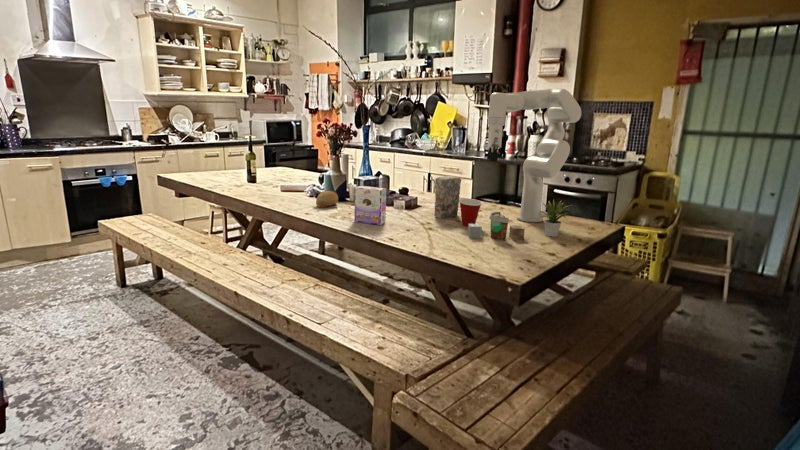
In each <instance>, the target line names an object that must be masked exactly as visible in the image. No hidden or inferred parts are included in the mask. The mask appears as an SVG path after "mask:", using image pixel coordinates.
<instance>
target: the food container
mask: <svg viewBox="0 0 800 450" xmlns="http://www.w3.org/2000/svg"><path fill="white" fill-rule="evenodd" d="M489 220H490V238H491V239H493V240H497V241H506V239H507V234H508V233H507V232H508V226H509V223H510V222H509V221H510V219H509V217H505V215H502V214H501V211H493V212H491V213H490V215H489Z"/></svg>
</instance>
